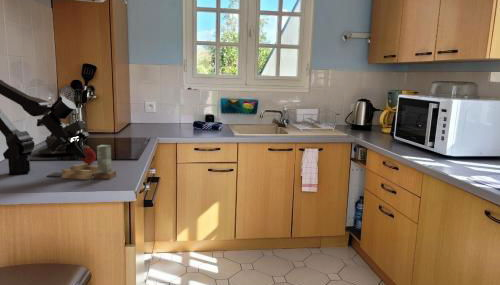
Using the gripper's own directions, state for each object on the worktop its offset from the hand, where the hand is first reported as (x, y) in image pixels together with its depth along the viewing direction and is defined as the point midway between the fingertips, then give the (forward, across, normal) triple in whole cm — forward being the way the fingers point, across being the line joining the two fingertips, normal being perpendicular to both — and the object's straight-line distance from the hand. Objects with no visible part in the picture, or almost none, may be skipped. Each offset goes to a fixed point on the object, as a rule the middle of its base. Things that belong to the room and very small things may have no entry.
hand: (85, 158), depth 144 cm
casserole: (-18, +42, +30) cm, 55 cm away
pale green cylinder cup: (+10, 0, 0) cm, 10 cm away
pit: (-3, -1, +13) cm, 13 cm away
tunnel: (+4, 0, +6) cm, 7 cm away
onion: (-1, +19, +12) cm, 22 cm away
